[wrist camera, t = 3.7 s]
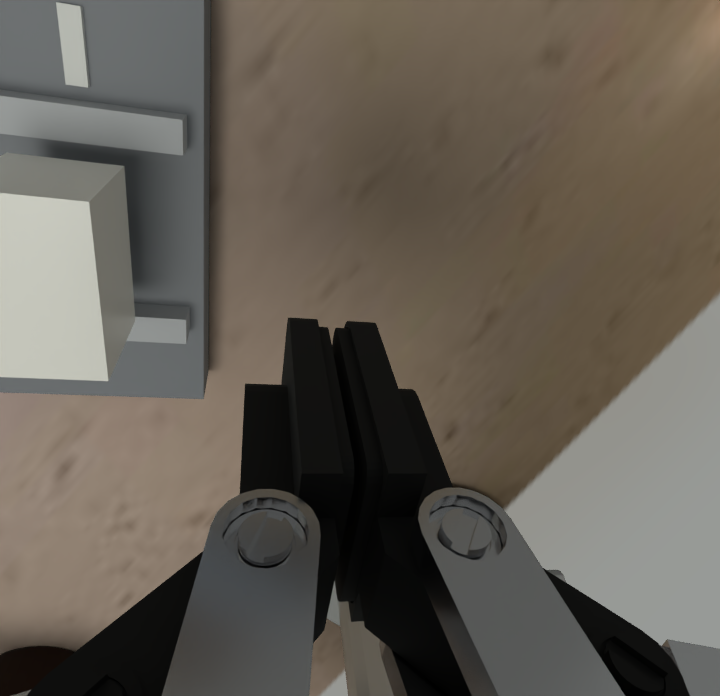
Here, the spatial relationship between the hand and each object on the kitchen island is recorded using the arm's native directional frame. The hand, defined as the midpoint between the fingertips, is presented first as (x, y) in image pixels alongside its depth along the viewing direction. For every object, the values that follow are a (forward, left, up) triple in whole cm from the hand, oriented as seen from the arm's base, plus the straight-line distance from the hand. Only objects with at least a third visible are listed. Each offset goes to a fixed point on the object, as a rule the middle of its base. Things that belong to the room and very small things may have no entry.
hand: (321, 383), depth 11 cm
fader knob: (+7, +1, -9) cm, 11 cm away
